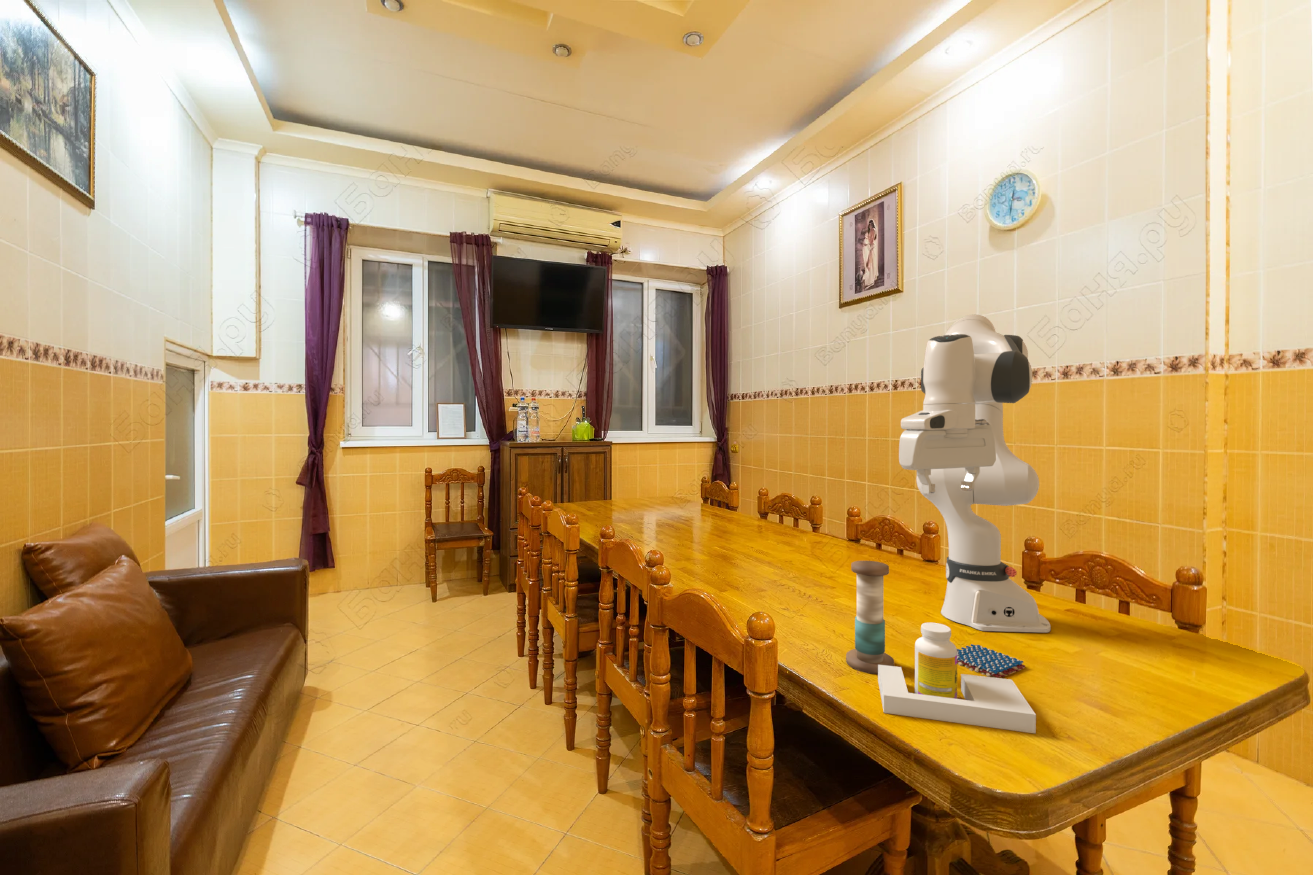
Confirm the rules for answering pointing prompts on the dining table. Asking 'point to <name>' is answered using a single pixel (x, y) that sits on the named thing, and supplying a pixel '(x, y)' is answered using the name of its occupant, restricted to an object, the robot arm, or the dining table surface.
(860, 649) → the bobbin
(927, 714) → the notched board
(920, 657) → the supplement bottle
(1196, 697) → the dining table surface
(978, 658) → the woven mat
